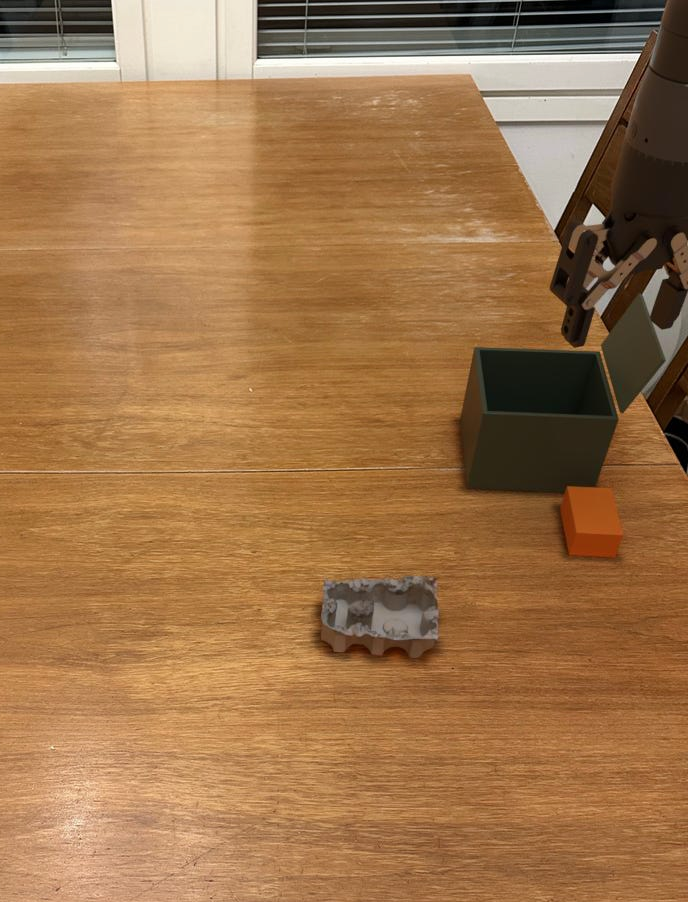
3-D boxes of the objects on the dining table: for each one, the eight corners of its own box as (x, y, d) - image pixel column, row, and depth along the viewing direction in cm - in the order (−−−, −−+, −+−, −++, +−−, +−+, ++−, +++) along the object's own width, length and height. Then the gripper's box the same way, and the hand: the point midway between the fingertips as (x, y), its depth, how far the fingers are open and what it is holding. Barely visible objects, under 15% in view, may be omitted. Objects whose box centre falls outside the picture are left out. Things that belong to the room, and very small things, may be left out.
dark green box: (577, 425, 110) (600, 351, 103) (592, 494, 102) (619, 419, 95) (459, 420, 111) (474, 346, 104) (466, 488, 103) (483, 413, 96)
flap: (600, 345, 102) (603, 346, 103) (619, 412, 95) (623, 413, 95) (639, 293, 98) (642, 294, 98) (662, 359, 90) (666, 360, 90)
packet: (603, 510, 101) (611, 488, 98) (614, 557, 96) (623, 535, 94) (559, 508, 101) (566, 485, 99) (568, 555, 96) (576, 532, 94)
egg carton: (435, 606, 92) (442, 575, 89) (433, 666, 87) (441, 635, 84) (322, 593, 94) (325, 562, 91) (314, 652, 89) (317, 621, 86)
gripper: (624, 171, 68) (566, 372, 80) (796, 141, 71) (715, 340, 83) (566, 131, 73) (520, 327, 85) (730, 104, 76) (662, 297, 88)
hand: (617, 333), depth 84 cm, fingers open, 8 cm apart
